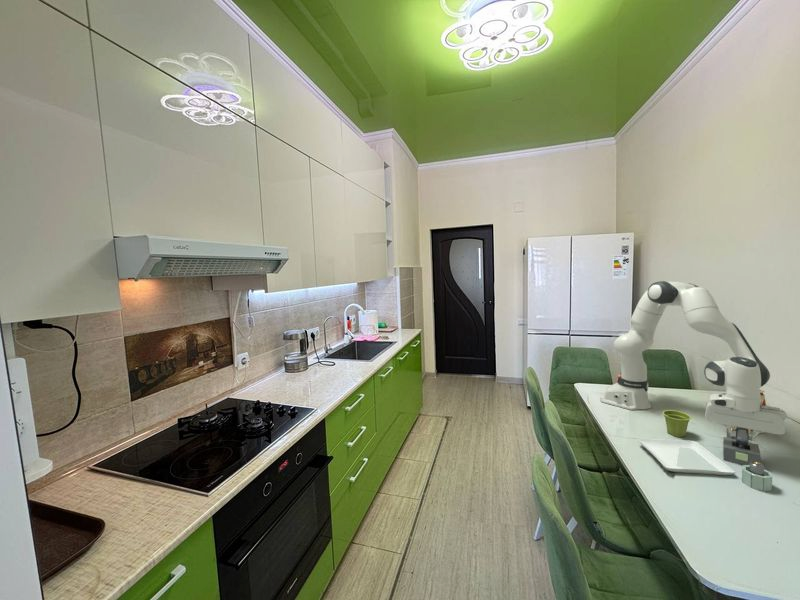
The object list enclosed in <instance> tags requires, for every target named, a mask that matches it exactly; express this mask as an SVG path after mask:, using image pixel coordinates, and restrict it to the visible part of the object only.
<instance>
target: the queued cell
mask: <svg viewBox="0 0 800 600" xmlns="http://www.w3.org/2000/svg"><path fill="white" fill-rule="evenodd" d="M731 429H732V430H733V431H736V428H735V427H732V428H731ZM725 435H726V436H725V437H727V438H731V439H736V437H731V435H730V431H729V430H728V428H727V427H726V434H725Z"/></svg>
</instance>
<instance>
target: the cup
mask: <svg viewBox="0 0 800 600" xmlns="http://www.w3.org/2000/svg"><path fill="white" fill-rule="evenodd" d="M741 483H743V484H744V485H746V486H748V487H749V488H751V489H754V490H758V491H761V492H771V491H773V473H771V471H768V470H767V469H765V468H764V476H760V475H756V474H753V473H751V472H750V465H741Z"/></svg>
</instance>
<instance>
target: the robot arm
mask: <svg viewBox="0 0 800 600" xmlns="http://www.w3.org/2000/svg"><path fill="white" fill-rule="evenodd" d="M668 306H678V307H679V306H681V308H682V312H683V314H684V319H685V320H686V323H687V324H688V325H689V327H690V329H693V330H694V331H696V332H699V333H701V334H705V335H709V336H713V337H716V338H719V339H721V340H723V341H724V342H725V343H727V345H728V346H729V347H730V349H731V350H732V352H733V354H734V356H732V357H729V358H727V359H726V360H713V361H709V362H708V363H706V365H705V367H704V371H703V372H704V377H705V379H706V380H707V381H708V382H710V383H711V384H713V385H715V386H718V387H723V388H725V389H726V390H725V393H711V395H710V396H709V401H708V402H707V404H706V406H705V411H704V412H705V413H704V418H705V420H706V421H708V422H712V423H717V424H721V425H725V426H726V429H727V428H728V430H729V431H730V435H731V437H736V431H733V430H732V429H731V428H733V426H736V427H742V428H747V429H752V430H753V433H749V435H748V441H749V442H750V441H751V442H755V438H756V437H757V436H758V435H759V434H760V433H759V431H762V432H764V433H767V434H773V435H779V436H782V435H783V436H784V434H786V429H785V428H786V427H785V423H784V421H786V420H787V412H786V411H785V410H783V409H781V408H780V407H776V406H770V405H769V406H768V405H766V406H764V405H761V395H760V393H759V389H760V390H761V388H762V387H763V386H764V385H766V384H767V383H768V382H769V380H770V377H771V373H770V371H769V368H767V366H766V365H765V364H764V363H763V362H762V360H761V359H760V358H759V357H758V356H757V355H756V353H755V351H754V350H753V348H752V347H751V345H750V344H749V342H748V340H747V338H746V337H745V336H744V334H743V333H742V331H741V330H740V329H739V327H738V326H737V325H736V324H735V323H733V322H731V321H729V320H728V319H727V318H726V317H725V316H724V315H723V314H722V312H721V311H720V309H719V307H718V305H717V302H716V300H715V298H714V297H713V295H712V294H711V292H710V291H709V290H708V289H706V288H704V287H701V286H698V285H696V284H694V283H687V282H681V281H664V280H661V281H656V282H653V283H652V284H650V286H649V287H648V289H647V290H646V291H645V292H644V293H643V294H642V296H641V298H640V299H639V300H638V303H637V304H636V307H635V309H634V311H633V313H632V315H631V317H630V323H631V324H630V328H629V331H628V332H626V333H624V334H621V335H619V336H618V337H617V338H615V340H614V341H613V349H614V350H615V352H616V353H617V354H618V357H619V361H620V371H621V372H620V373H621V374H618V375H617V376H616V377H617V378H616V383H613V384H611V385H610V386H607V387H606V389H605V392H604V393H603V394H601V395H600V396H599V401H600V402H601V403H604V404H607V405H612V406H614V407H617V408H618V407H619V408H623V409H626V410H629V411H636V410H647V409H648V410H649V409H650V408H651V407H652V405H651V403H650V402H651V401H650V398H649V395H648V394H649V393H648V390H649V381H648V368H647V367H648V366H647V364H646V362H645V361H644V357H643V352H644V351H647V350H648V349H650V348H652V347H651V346H652V345H653V344H654V336H655V332H656V329H657V326H658V324H659V322H660V320H661V318H662V316H663V314H664V312H665V309H666V308H667V307H668Z"/></svg>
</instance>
